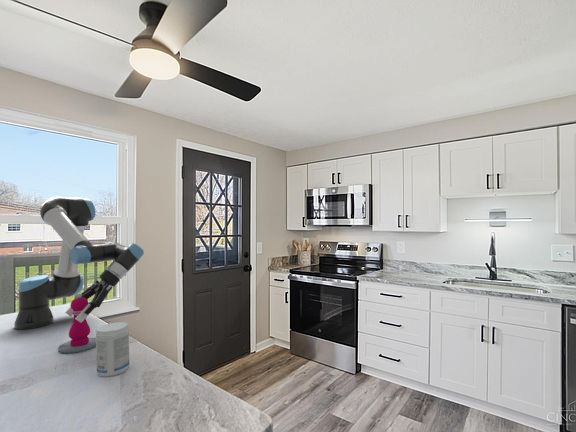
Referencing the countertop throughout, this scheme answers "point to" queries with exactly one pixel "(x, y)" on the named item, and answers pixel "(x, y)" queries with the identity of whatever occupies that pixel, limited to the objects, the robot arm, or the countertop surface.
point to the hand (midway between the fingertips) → (72, 317)
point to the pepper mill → (79, 323)
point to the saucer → (69, 349)
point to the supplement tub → (112, 349)
